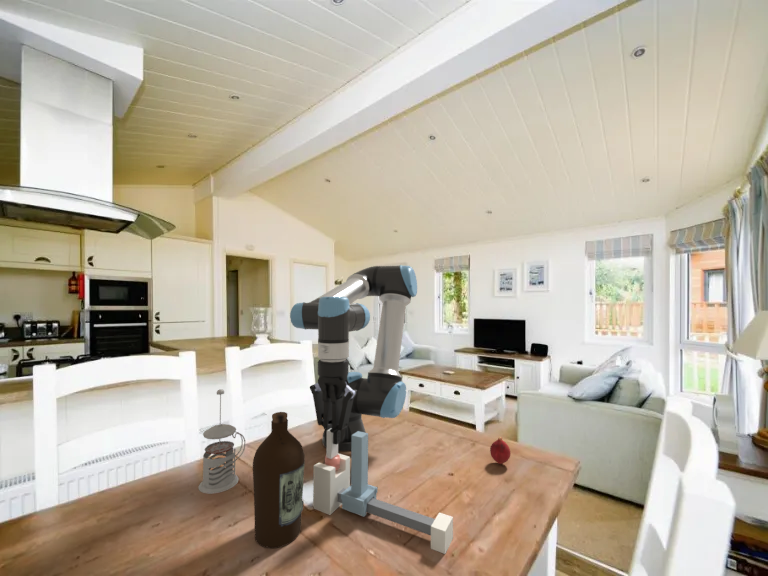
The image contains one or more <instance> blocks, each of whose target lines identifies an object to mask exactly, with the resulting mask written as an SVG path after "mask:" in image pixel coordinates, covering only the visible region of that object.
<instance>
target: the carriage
mask: <svg viewBox="0 0 768 576" xmlns="http://www.w3.org/2000/svg"><path fill="white" fill-rule="evenodd" d="M365 432H366V431H365ZM365 432H360V431H357V432H356V433H354V434H353V435H352V446H351V450H350V451H351V456H350V458H351V476H350V486H349V487H348V488H347V489H346V490H345V491H344V492H342V493H341V499H342V505H341V509H342V510H345V511H346V512H347V511H348V512H350V513H353V514H356V515H358V516H361V517H366V516H367V503H368V502H369V501H370V500H371V499H372V498H374V499H377V493H378V487H377V486H374V485H371V484H369V433H368V432H366V433H365Z"/></svg>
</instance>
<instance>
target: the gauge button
mask: <svg viewBox="0 0 768 576" xmlns="http://www.w3.org/2000/svg"><path fill="white" fill-rule="evenodd" d="M324 464H326V465H329V466H332V467H335V470H337V469H339V468H340V455H337V456H335V457H334V458H332V459H330V458H326V455H325V456H324Z"/></svg>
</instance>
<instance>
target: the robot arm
mask: <svg viewBox="0 0 768 576" xmlns="http://www.w3.org/2000/svg"><path fill="white" fill-rule="evenodd" d="M417 294H418V279H417V276H416V273H415V270H414V268H413V267H412V266H410V265H402V264H400V265H375V266H374V265H373V266H370V267H367V268H363V269H361V270H359V271H357V272H354V273H353V274H351V275H349V276H348V277H347V279H346V281H345V282H343V283H341V284H339V285H337V286H336V287H333V288H332V289H331V290H329V291H327V292H325V293H323V294H322V295H320V296H319V297H316V298H315V299H313V300H312V301H309V302H298V303H295V304H294V305H293V306H292V307H291V309H290V313H289V314H290V315H289V318H290V323H291V324H292V326H293V327H294V328H296V329H302V330H303V329H304V330H317V331H318V332H317V335H318V338H317V357H318V361H317V376H318V379H317V382H316V383H314V384H312V385H310V386H309V389H310V392H311V393H312V399H313V404H314V409H315V417H316V421H317V425H318V426H321V427H323V429H324V431H323V434H322V437H321V438H322V442H321V443H322V445H323V446H324V447H325V448H326V449H325V450H326V451H325V452H326V455H325V456H326V458H330V459H332V458H334V457H335V456H337V455H338V453H339V452H345V451H346V452H347V451H351V446H352V435H353V434H354V433H356V432H357V431H360V432H365V433H367V432H366V429H365V425H364V421H363V419H362V417H363V416H362V415H365V416H372V417H379V418H382V419H385V418H387V419H388V418H389V419H395V418H397V417H398V416H399V415H400V414H401V412H402V410H403V408H404V404H405V401H406V397H407V395H406V394H407V391H406V390H407V384H406V383H405V382H404V381H402V378H403V376H402V375H401V374H400V372H399V367H400V357H401V350H402V342H403V341H402V340H403V332H404V324H405V317H406V310H407V309H406V307H407V306H408V305H410V303H411V302H412V301H411V300H412V298H414V297H416V296H417ZM366 297H379V300H380V301H381V302H382V305H381V311H380V312H381V313H380V320H379V325H378V326H379V328H378V333H377V340H376V348H375V354H374V362H373V368H371V370H369V371H368V372H367V378H364V377H363V374H362V372H358V371H351V372H349V366H350V365H349V364H350V363H349V360H348V358H349V357H350V356H349V355H350V349H349V347H350V343H349V342H350V340H349V339H350V338H349V337H350V334H349V333H350V332H354V331H355V332H358V331H360V330H362V329H364V328H366V327H367V326H368V324H369V323H370V320H371V312H370V311H369V309H368V307H367V306H366V305H365V304H363V303H358V302H356V303H355V301H357V300H361V299H364V298H366Z"/></svg>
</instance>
